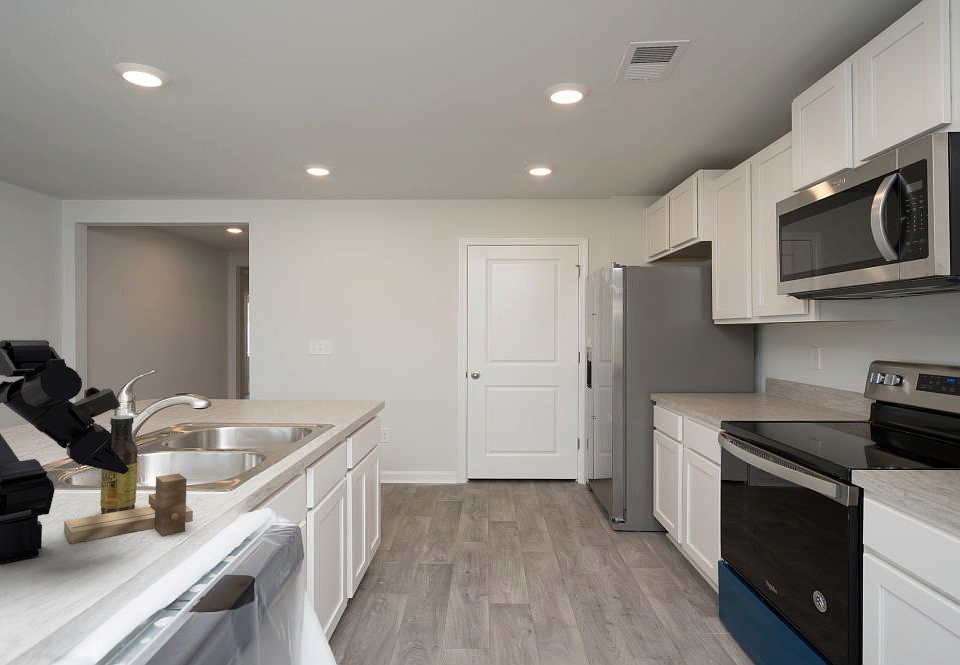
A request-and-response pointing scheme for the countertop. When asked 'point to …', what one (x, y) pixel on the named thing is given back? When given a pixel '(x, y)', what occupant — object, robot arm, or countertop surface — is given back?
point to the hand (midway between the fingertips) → (120, 466)
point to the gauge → (169, 504)
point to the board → (113, 524)
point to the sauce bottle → (116, 486)
